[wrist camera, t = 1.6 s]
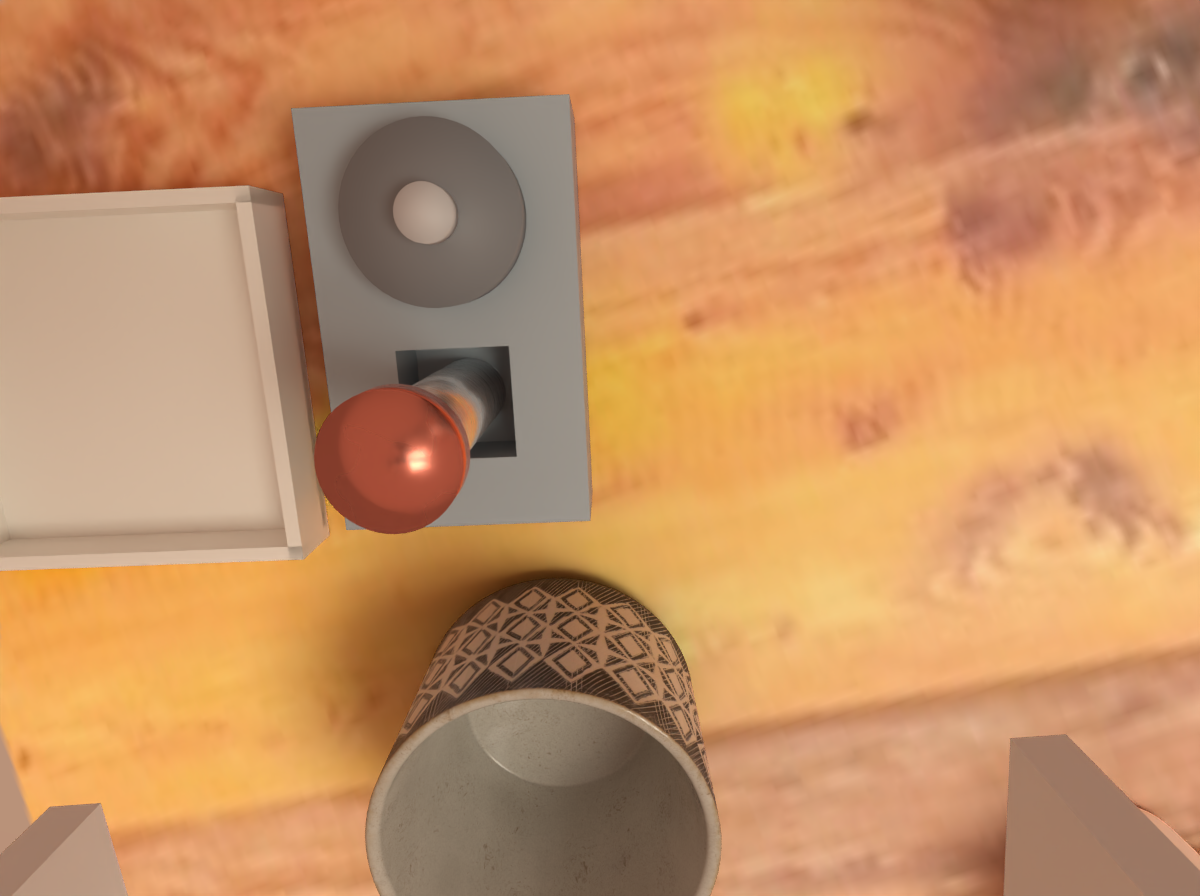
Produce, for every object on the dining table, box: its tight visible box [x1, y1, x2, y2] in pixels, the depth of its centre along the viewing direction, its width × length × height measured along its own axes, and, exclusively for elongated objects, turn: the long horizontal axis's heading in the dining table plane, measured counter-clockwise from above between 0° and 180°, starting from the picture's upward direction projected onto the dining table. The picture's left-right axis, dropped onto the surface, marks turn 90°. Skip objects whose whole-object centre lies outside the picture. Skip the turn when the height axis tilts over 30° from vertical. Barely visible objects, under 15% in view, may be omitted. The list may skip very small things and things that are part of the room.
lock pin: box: [314, 358, 506, 534], centre depth 26 cm, size 4×4×12 cm
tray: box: [0, 185, 330, 571], centre depth 31 cm, size 15×15×3 cm
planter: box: [365, 578, 721, 896], centre depth 31 cm, size 13×13×10 cm
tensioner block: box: [291, 94, 592, 530], centre depth 29 cm, size 16×10×7 cm, turn 2°
